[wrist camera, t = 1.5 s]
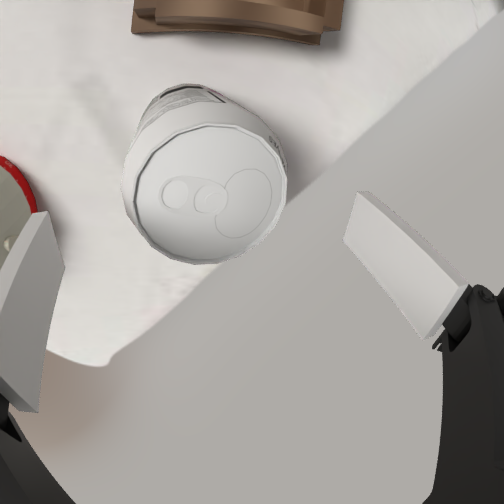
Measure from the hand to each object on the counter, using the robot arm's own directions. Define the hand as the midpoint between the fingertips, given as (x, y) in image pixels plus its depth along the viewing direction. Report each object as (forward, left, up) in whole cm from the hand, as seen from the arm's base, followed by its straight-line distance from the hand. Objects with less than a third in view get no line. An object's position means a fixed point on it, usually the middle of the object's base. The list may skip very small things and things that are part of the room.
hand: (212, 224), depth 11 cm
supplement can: (0, 0, -17) cm, 17 cm away
